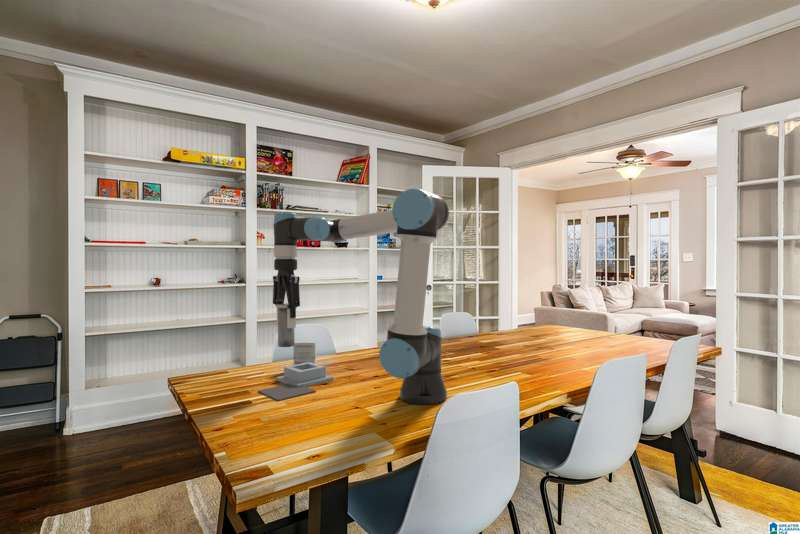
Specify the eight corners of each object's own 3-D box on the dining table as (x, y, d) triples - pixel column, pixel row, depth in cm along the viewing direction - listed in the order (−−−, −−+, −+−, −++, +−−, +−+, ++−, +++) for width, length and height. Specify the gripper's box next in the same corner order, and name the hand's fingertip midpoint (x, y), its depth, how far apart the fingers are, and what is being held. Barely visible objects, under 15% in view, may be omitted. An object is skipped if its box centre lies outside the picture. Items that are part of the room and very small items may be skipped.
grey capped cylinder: (299, 345, 147) (299, 304, 147) (282, 348, 142) (282, 305, 142) (289, 343, 151) (289, 303, 151) (272, 345, 147) (272, 304, 147)
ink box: (317, 369, 178) (316, 340, 178) (315, 372, 173) (314, 342, 173) (295, 369, 177) (295, 340, 177) (293, 372, 172) (293, 343, 172)
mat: (316, 391, 147) (316, 390, 147) (278, 401, 137) (278, 399, 137) (294, 383, 157) (294, 382, 157) (257, 391, 147) (257, 390, 147)
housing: (333, 380, 161) (333, 366, 161) (297, 388, 150) (297, 374, 150) (311, 372, 172) (311, 360, 172) (276, 380, 161) (276, 366, 161)
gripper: (311, 258, 142) (311, 328, 142) (281, 258, 156) (281, 322, 156) (290, 258, 137) (291, 331, 137) (261, 258, 151) (262, 324, 151)
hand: (286, 326), depth 147 cm, fingers closed on grey capped cylinder, 6 cm apart
